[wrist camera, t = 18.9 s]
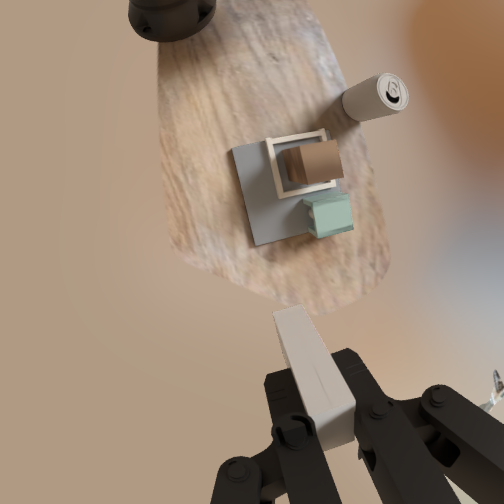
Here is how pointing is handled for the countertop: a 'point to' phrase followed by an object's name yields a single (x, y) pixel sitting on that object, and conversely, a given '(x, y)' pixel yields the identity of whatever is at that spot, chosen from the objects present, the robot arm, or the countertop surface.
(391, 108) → the beverage can
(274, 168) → the jig board
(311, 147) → the block
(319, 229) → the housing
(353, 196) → the countertop surface
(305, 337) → the robot arm
